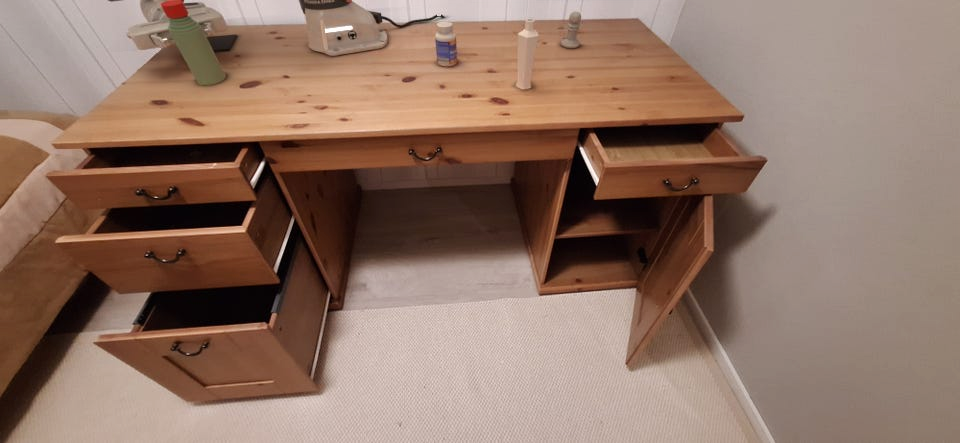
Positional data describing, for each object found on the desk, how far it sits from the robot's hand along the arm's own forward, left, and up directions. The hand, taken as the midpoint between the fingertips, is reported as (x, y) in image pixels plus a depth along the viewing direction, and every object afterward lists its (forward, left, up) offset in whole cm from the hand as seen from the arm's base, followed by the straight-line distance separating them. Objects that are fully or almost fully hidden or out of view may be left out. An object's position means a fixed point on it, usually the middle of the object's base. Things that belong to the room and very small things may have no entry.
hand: (188, 38), depth 89 cm
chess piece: (-98, +2, -9) cm, 98 cm away
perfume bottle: (-77, +23, -9) cm, 80 cm away
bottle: (-2, +3, -9) cm, 10 cm away
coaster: (+3, -20, -9) cm, 22 cm away
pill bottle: (-61, +6, -9) cm, 61 cm away
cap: (-2, +3, +8) cm, 8 cm away
